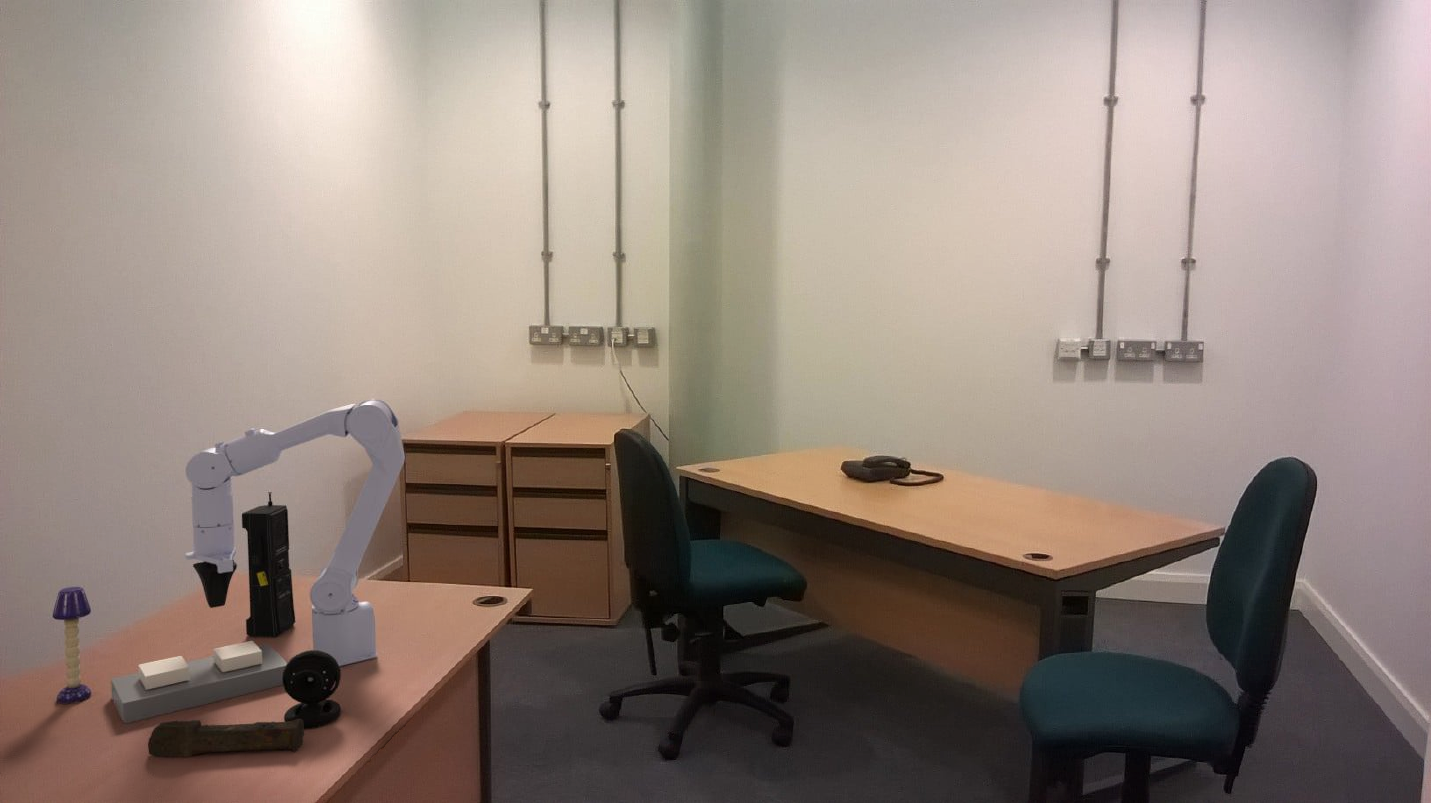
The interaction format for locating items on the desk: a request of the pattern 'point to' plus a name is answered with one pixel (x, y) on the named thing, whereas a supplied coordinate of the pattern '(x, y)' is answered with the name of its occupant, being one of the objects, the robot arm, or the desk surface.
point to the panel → (195, 687)
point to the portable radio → (269, 571)
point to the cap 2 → (237, 656)
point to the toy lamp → (72, 640)
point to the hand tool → (223, 737)
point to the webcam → (312, 688)
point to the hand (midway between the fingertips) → (216, 605)
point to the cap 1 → (163, 672)
